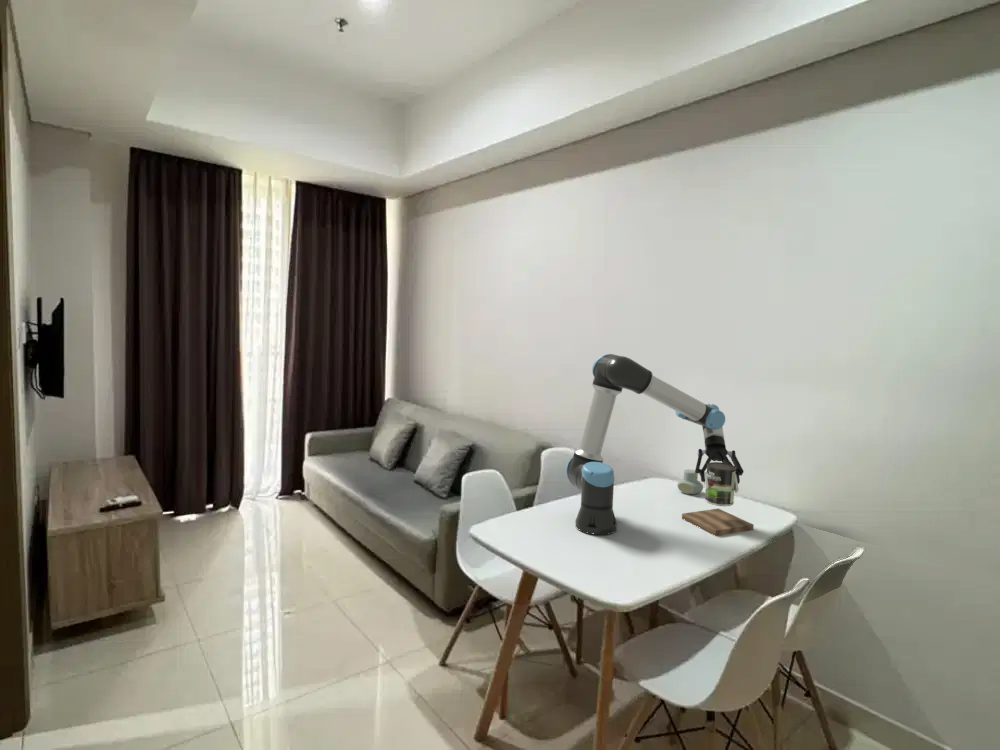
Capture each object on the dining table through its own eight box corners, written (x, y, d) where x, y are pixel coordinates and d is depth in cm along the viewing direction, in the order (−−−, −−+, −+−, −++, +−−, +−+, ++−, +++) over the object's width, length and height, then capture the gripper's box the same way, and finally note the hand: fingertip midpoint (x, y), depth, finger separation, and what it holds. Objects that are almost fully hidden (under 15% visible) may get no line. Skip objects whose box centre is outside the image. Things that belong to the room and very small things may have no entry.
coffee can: (720, 508, 201) (722, 471, 199) (699, 499, 210) (700, 464, 208) (740, 504, 205) (742, 467, 204) (717, 495, 215) (719, 460, 213)
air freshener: (705, 493, 245) (706, 472, 244) (696, 497, 239) (698, 475, 238) (683, 487, 253) (684, 466, 252) (673, 491, 247) (675, 470, 246)
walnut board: (715, 535, 197) (715, 530, 197) (681, 518, 214) (682, 513, 214) (753, 529, 204) (753, 524, 203) (718, 513, 220) (718, 508, 220)
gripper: (741, 445, 219) (751, 496, 206) (683, 443, 223) (688, 492, 209) (746, 435, 213) (756, 487, 200) (686, 433, 217) (692, 483, 203)
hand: (721, 490), depth 204 cm, fingers closed on coffee can, 10 cm apart
